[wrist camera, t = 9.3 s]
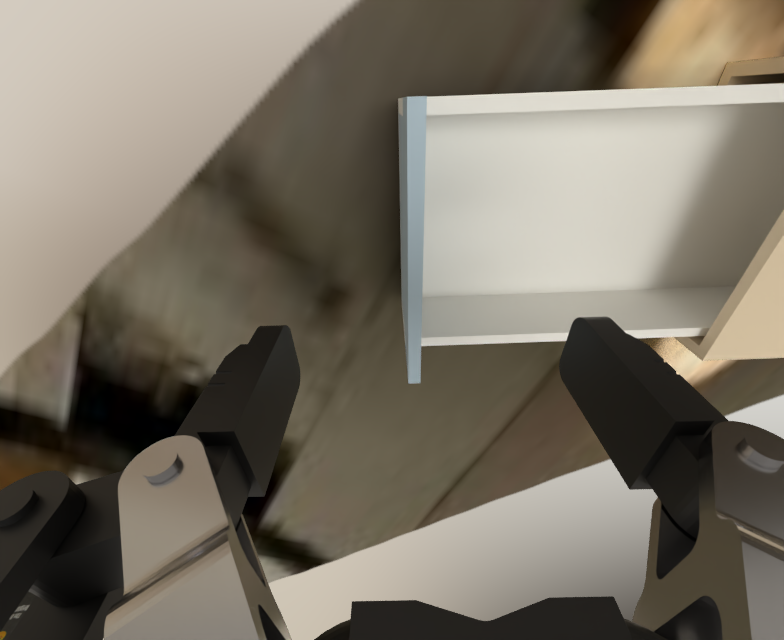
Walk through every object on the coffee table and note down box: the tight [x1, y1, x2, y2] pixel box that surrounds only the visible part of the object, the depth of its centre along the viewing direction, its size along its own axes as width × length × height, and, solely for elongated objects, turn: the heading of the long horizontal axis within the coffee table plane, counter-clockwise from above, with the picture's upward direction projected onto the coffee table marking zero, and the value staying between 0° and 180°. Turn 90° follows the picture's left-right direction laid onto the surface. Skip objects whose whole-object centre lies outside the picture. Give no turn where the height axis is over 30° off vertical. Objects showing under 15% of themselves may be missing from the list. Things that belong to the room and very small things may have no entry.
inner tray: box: [398, 83, 784, 383], centre depth 17 cm, size 25×12×8 cm, turn 92°
